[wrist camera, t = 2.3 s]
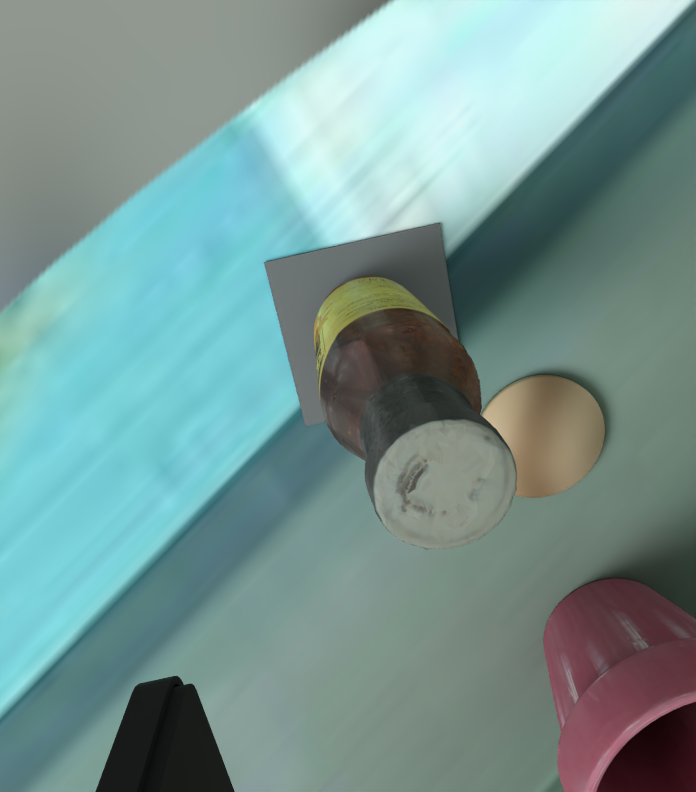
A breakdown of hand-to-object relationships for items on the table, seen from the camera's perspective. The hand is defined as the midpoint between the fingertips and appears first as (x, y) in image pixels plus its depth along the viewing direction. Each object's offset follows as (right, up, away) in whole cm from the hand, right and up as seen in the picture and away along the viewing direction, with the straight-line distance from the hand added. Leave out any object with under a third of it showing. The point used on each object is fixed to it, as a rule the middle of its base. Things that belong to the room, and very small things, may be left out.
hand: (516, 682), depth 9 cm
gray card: (-1, +8, +26) cm, 27 cm away
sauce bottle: (-1, +8, +26) cm, 27 cm away
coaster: (+9, +2, +29) cm, 30 cm away
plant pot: (+16, -12, +34) cm, 39 cm away
